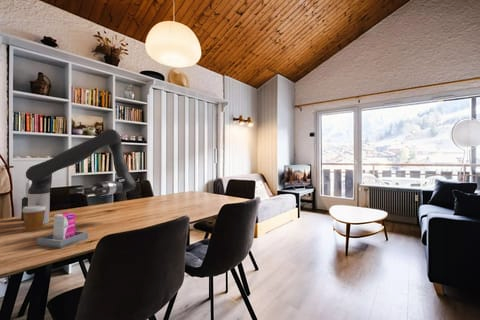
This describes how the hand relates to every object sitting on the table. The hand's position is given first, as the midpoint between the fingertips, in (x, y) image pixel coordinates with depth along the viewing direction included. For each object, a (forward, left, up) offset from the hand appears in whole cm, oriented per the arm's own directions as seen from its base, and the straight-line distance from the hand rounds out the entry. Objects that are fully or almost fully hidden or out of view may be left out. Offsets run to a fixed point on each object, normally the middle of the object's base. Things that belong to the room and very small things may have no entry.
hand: (77, 192), depth 109 cm
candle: (-54, +15, -22) cm, 60 cm away
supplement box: (0, -6, -21) cm, 22 cm away
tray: (0, -6, -22) cm, 22 cm away
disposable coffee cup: (-30, +2, -22) cm, 37 cm away
